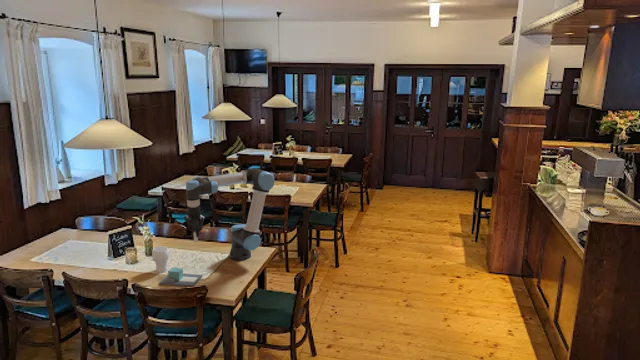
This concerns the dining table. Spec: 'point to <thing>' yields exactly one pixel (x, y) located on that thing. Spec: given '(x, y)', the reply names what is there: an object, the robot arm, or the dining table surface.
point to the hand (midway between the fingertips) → (196, 241)
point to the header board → (182, 280)
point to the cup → (161, 258)
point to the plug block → (176, 273)
